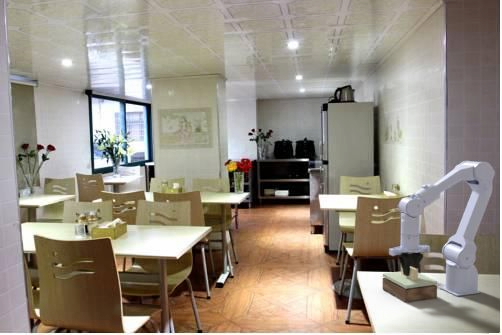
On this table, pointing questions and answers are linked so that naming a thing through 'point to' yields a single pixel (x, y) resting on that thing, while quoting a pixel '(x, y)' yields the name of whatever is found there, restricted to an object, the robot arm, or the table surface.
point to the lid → (410, 279)
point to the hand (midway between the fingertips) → (409, 274)
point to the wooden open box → (409, 291)
